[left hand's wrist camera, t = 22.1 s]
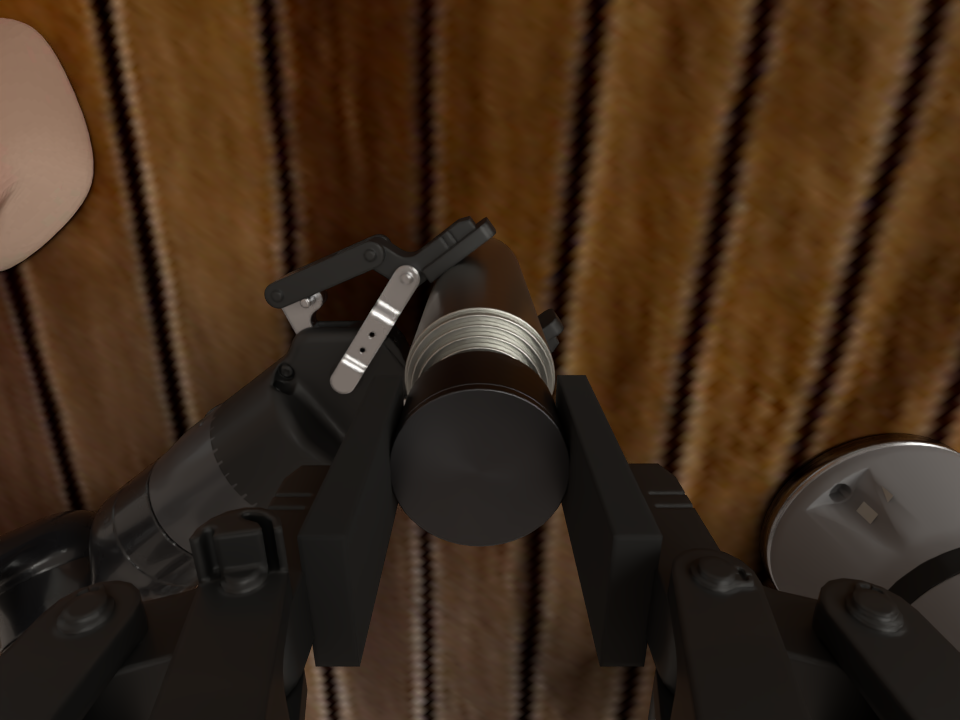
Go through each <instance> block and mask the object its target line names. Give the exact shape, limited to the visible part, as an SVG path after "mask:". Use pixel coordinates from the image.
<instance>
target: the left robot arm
mask: <svg viewBox="0 0 960 720" xmlns="http://www.w3.org/2000/svg"><path fill="white" fill-rule="evenodd" d="M403 408H404V396H403V377H402V375H374V377H373V379H372V381H371V383H370V385H369V387H368V389H367V391H366V393H365V395H364V397H363V400H362V402H361V404H360V406H359V408H358V410H357V412H356V414H355V416H354V418H353V420H352V422H351V425H350V427H349V429H348V431H347V433H346V435H345V437H344V439H343V441H342V443H341V445H340V448H339V450H338V452H337V454H336V456H335V458H334V460H333V462H332V464H331V465H302V466H300V467H299V468H298V469H296V470H295V471H294V472H292V473H291V474H290V475H288V476H287V477H286V478H285V479H284V480H283V482H282V483H281V485H280V487H279V488H278V490H277V492H276V493H275V497H273V498H272V500H271V502H270V503H269V505H268V509H264V508H261V507H244V508H240V509H235V510H231V511H227V512H224V513H222V514H220V515H217V516H215V517H213V518H211V519H209V520H208V521H206V522H205V523H204V524H202V525H201V526H200V527H198V528H197V529H196V530H195V532H194V533H193V534H192V536H191V537H190V539H189V542H190V547H191V551H192V555H193V560H194V564H195V568H196V573H197V577H198V581H199V585H198V587H197V588H195V589H192V590H188V591H185V592H182V593H178V594H174V595H169V596H165V597H161V598H156V599H152V600H148V601H144V602H142V598H141V594H140V591H139V590H138V589H137V588H136V587H135V586H134V585H133V584H132V583H129V582H124V581H119V580H116V581H107V582H99V583H96V584H93V585H90V586H87V587H84V588H81V589H78V590H76V591H74V592H73V593H71V594H69V595H67V596H65V597H63V598H61V599H59V600H58V601H57V602H56V603H54V604H53V605H52V606H51V607H49V608H48V609H47V610H46V611H44V612H43V613H42V614H41V615H40V616H39V617H38V618H37V619H36V620H35V621H34V622H33V623H32V624H31V625H30V626H29V627H28V628H27V629H26V630H25V631H24V632H23V633H22V634H21V635H20V636H19V637H18V638H17V639H16V640H15V641H14V642H13V643H12V644H11V645H10V646H9V647H8V648H7V649H6V650H5V651H4V652H3V653H2V654H1V655H0V720H305V709H306V698H307V685H306V678H305V671H304V667H305V664H306V661H307V658H308V655H309V652H310V650H311V647H312V644H313V651H314V658H315V665H316V666H360V663H361V659H362V654H363V650H364V646H365V642H366V637H367V633H368V629H369V625H370V620H371V616H372V612H373V607H374V603H375V599H376V595H377V590H378V586H379V582H380V578H381V573H382V569H383V565H384V561H385V556H386V552H387V548H388V543H389V539H390V535H391V531H392V526H393V522H394V518H395V514H396V509H397V505H398V501H397V499H396V497H395V495H394V493H393V490H392V486H391V474H390V451H391V448H392V444H393V441H394V438H395V434H396V431H397V428H398V424H399V421H400V418H401V415H402V411H403ZM556 409H557V412H558V416H559V419H560V422H561V426H562V429H563V432H564V436H565V439H566V442H567V445H568V449H569V454H570V469H569V483H568V488H567V491H566V494H565V496H564V498H563V500H562V506H563V511H564V515H565V519H566V524H567V528H568V532H569V536H570V541H571V545H572V549H573V553H574V558H575V562H576V566H577V570H578V575H579V579H580V583H581V588H582V592H583V596H584V600H585V605H586V609H587V613H588V617H589V622H590V626H591V630H592V634H593V639H594V643H595V647H596V652H597V656H598V660H599V664H600V666H644V663H645V656H646V649H647V642H648V645H649V648H650V651H651V654H652V657H653V660H654V662H655V665H656V671H655V678H654V684H653V691H652V697H651V703H650V710H649V717H648V720H655V719H656V720H960V453H958V452H957V451H955V450H954V449H952V448H950V447H949V446H947V445H945V444H943V443H941V442H939V441H936V440H933V439H930V438H927V437H923V436H917V435H911V434H884V435H876V436H871V437H866V438H862V439H858V440H855V441H851V442H849V443H846V444H843V445H841V446H838V447H836V448H834V449H832V450H830V451H828V452H826V453H824V454H822V455H821V456H819V457H817V458H816V459H814V460H813V461H811V462H810V463H808V464H807V465H806V466H804V467H803V468H802V469H801V470H799V471H798V472H797V473H796V474H795V475H794V476H793V477H792V478H791V479H790V480H789V481H788V482H787V483H786V484H785V485H784V486H783V488H782V489H781V490H780V491H779V493H778V494H777V496H776V497H775V499H774V500H773V502H772V503H771V505H770V507H769V509H768V511H767V514H766V516H765V518H764V521H763V525H762V529H761V534H760V554H761V559H762V563H763V566H764V568H765V570H766V572H767V574H768V576H769V578H770V579H771V581H772V582H773V583H774V585H775V586H776V588H777V589H778V590H775V589H772V588H769V587H766V586H763V585H762V584H761V582H760V580H759V579H758V577H757V575H756V574H755V572H754V571H753V570H752V569H751V568H750V567H748V566H747V565H746V564H745V563H744V562H742V561H741V560H739V559H737V558H735V557H733V556H731V555H729V554H727V553H725V552H721V551H720V549H719V548H718V546H717V545H716V543H715V541H714V540H713V538H712V536H711V535H710V533H709V531H708V530H707V528H706V526H705V525H704V523H703V521H702V520H701V518H700V517H699V515H698V513H697V512H696V510H695V508H693V507H692V503H691V502H690V500H689V498H688V497H687V495H685V492H684V490H683V489H682V487H681V485H680V484H679V482H678V480H677V479H676V477H675V476H674V475H672V474H671V473H670V472H668V471H667V470H666V469H664V468H663V467H662V466H660V465H659V464H628V463H627V461H626V459H625V457H624V455H623V452H622V450H621V448H620V446H619V444H618V442H617V440H616V438H615V436H614V434H613V432H612V429H611V427H610V425H609V423H608V421H607V419H606V417H605V415H604V413H603V411H602V409H601V406H600V404H599V402H598V400H597V398H596V396H595V394H594V392H593V390H592V388H591V386H590V384H589V381H588V379H587V377H586V375H557V390H556Z"/></svg>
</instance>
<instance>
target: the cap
mask: <svg viewBox="0 0 960 720" xmlns="http://www.w3.org/2000/svg"><path fill="white" fill-rule="evenodd" d="M569 469H570V454H569V449H568V445H567V442H566V439H565V436H564V432H563V429H562V426H561V422H560V419H559V416H558V412H557V409H556V406H555V403H554V400H553V397H552V394H551V392H550V390H549V389H548V387H547V385H546V384H545V382H544V381H543V380H542V378H541V377H540V376H539V375H538V374H537V373H536V372H535V371H534V370H532V369H531V368H530V367H529V366H527V365H526V364H524V363H522V362H521V361H519V360H517V359H515V358H512V357H510V356H507V355H504V354H501V353H496V352H490V351H470V352H464V353H459V354H455V355H452V356H449V357H447V358H445V359H443V360H441V361H439V362H437V363H435V364H434V365H432V366H431V367H429V368H428V369H427V370H426V371H425V372H424V373H423V374H422V375H421V376H420V377H419V378H418V379H417V380H416V382H415V383H414V385H413V386H412V388H411V389H410V391H409V394H408V396H407V398H406V401H405V405H404V408H403V411H402V415H401V418H400V421H399V424H398V428H397V431H396V434H395V438H394V441H393V444H392V448H391V451H390V474H391V486H392V490H393V493H394V495H395V497H396V499H397V501H398V503H399V504H400V506H401V507H402V509H403V510H404V512H405V513H406V514H407V515H408V516H409V517H410V518H411V520H413V521H414V522H415V523H416V524H417V525H418V526H419V527H421V528H422V529H424V530H425V531H427V532H428V533H430V534H432V535H434V536H436V537H438V538H441V539H443V540H446V541H449V542H453V543H456V544H461V545H468V546H492V545H498V544H504V543H507V542H510V541H514V540H516V539H519V538H521V537H523V536H526V535H527V534H529V533H531V532H533V531H534V530H536V529H537V528H538V527H540V526H541V525H543V524H544V523H545V522H546V521H547V520H548V519H549V518H550V517H551V516H552V515H553V513H554V512H555V511H556V510H557V508H558V507H559V505H560V503H561V502H562V500H563V498H564V496H565V494H566V491H567V488H568V483H569Z"/></svg>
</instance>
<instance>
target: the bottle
mask: <svg viewBox="0 0 960 720" xmlns="http://www.w3.org/2000/svg"><path fill="white" fill-rule="evenodd" d="M470 351H490V352H496V353H501V354H504V355H507V356H510V357H512V358H515V359H517V360H519V361H521V362H522V363H524V364H526V365H527V366H529V367H530V368H531V369H532V370H534V371H535V372H536V373H537V374H538V375H539V376H540V377H541V378H542V380H543V381H544V382H545V384H546V385H547V387H548V389H549V390H550V392H551V394H553V391H554V384H555V368H554V362H553V359H552V356H551V352H550V350H549V347H548V344H547V341H546V339H545V336H544V333H543V330H542V327H541V325H540V322H539V319H538V316H537V313H536V311H535V308H534V305H533V302H532V300H531V297H530V294H529V291H528V288H527V286H526V283H525V280H524V277H523V274H522V272H521V269H520V266H519V263H518V261H517V259H516V256H515V255H514V253H513V252H512V251H511V250H510V248H509V247H508V246H506V245H505V244H504V243H502V242H501V241H499V240H497V239H495V238H492V237H491V238H490V239H489V240H488V241H486V242H485V243H484V244H482V245H481V246H480V247H478V248H477V249H476V250H474V251H473V252H472V253H470V254H469V255H468V256H466V257H465V258H464V259H462V260H461V261H460V262H458V263H457V264H456V265H454V266H453V267H452V268H450V269H449V270H447V271H446V272H445V273H444V274H443V275H441V276H440V277H439V278H437V279H436V280H435V282H434V284H433V287H432V290H431V293H430V296H429V298H428V301H427V304H426V307H425V309H424V312H423V315H422V318H421V321H420V323H419V326H418V329H417V332H416V335H415V337H414V340H413V343H412V346H411V348H410V351H409V354H408V357H407V361H406V366H405V388H406V392H407V396H408V394H409V391H410V389H411V388H412V386H413V385H414V383H415V382H416V380H417V379H418V378H419V377H420V376H421V375H422V374H423V373H424V372H425V371H426V370H427V369H428V368H429V367H431V366H432V365H434V364H435V363H437V362H439V361H441V360H443V359H445V358H447V357H449V356H452V355H455V354H459V353H464V352H470Z"/></svg>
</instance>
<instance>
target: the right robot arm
mask: <svg viewBox="0 0 960 720" xmlns="http://www.w3.org/2000/svg"><path fill="white" fill-rule="evenodd" d="M495 233H496V230H495V228H494V227H493V225H492V224H491V222H490V221H489V220H488V218H487V217H485V218H484V219H482V220H481V221H480V222H478V223H477V224H475V222H474V221H473V219H472V218H471V217H470V216H468V217H465V218H461V219H458V220H457V221H456V222H455V223H453V224H452V225H451V226H450V227H448V228H447V229H446V230H444V231H443V232H442V233H440V234H439V235H438V236H436V237H435V238H434V239H433V240H431V241H430V242H429V243H427V244H426V245H425V246H424V247H422V248H421V249H420V250H418V251H415V252H406V251H403V250H401V249H400V248H398V247H397V246H395V245H394V244H392V243H391V241H390V240H389V238H388V237H386V236H385V235H381V234H376V235H374V236H371V237H369V238H367V239H365V240H362V241H360V242H358V243H355V244H353V245H351V246H349V247H346V248H344V249H342V250H340V251H337V252H335V253H333V254H331V255H328V256H326V257H324V258H322V259H319V260H317V261H315V262H313V263H310V264H308V265H306V266H304V267H301V268H299V269H297V270H294V271H292V272H290V273H288V274H286V275H285V276H283V277H281V278H279V279H278V280H276V281H275V282H273V283H272V284H270V285H269V286H267V288H266V289H265V299H266V301H267V302H268V304H269V305H271V306H272V307H274V308H282V310H283V312H284V314H285V315H286V317H287V319H288V321H289V322H290V324H291V326H292V328H293V329H294V331H295V333H296V336H295V337H294V339H293V341H292V344H291V347H290V349H289V351H288V353H287V354H286V355H285V356H283V357H282V358H281V359H279V360H278V361H277V362H275V363H274V364H273V365H272V366H270V367H269V368H268V369H266V370H265V371H264V372H263V373H261V374H260V375H259V376H257V377H256V378H255V379H254V380H252V381H251V382H250V383H248V384H247V385H246V386H245V387H243V388H242V389H241V390H239V391H238V392H237V393H235V394H234V395H233V396H231V397H230V398H229V399H228V400H226V401H225V402H224V403H222V404H220V405H218V406H216V407H214V408H213V409H211V410H210V411H209V412H208V413H207V414H206V415H205V417H204V418H203V419H202V420H200V421H199V422H198V423H197V424H195V425H194V426H193V427H191V428H190V429H189V430H188V431H187V432H186V433H185V434H184V435H183V436H182V437H181V438H180V439H179V440H178V441H177V442H176V443H175V444H174V445H173V446H172V447H171V448H170V449H169V450H168V451H167V452H166V453H165V454H164V455H163V456H162V457H160V458H159V459H158V460H156V461H155V462H154V463H152V464H151V465H150V466H149V467H147V468H146V469H145V470H143V471H142V472H141V473H139V474H138V475H137V476H136V477H134V478H133V479H132V480H131V481H129V482H128V483H126V484H125V485H124V486H123V487H121V488H120V489H119V490H118V491H116V492H115V493H114V494H113V495H112V496H110V497H109V498H108V499H107V500H106V501H105V503H104V504H103V505H102V507H101V508H100V509H99V511H98V512H97V513H96V512H93V511H85V510H72V511H65V512H60V513H57V514H54V515H51V516H48V517H45V518H42V519H39V520H37V521H35V522H32V523H30V524H27V525H25V526H23V527H20V528H18V529H16V530H13V531H11V532H9V533H6V534H4V535H2V536H0V653H1V654H2V653H3V652H4V651H5V650H6V649H7V648H8V647H9V646H10V645H11V644H12V643H13V642H14V641H15V640H16V639H17V638H18V637H19V636H20V635H21V634H22V633H23V632H24V631H25V630H26V629H27V628H28V627H29V626H30V625H31V624H32V623H33V622H34V621H35V620H36V619H37V618H38V617H39V616H40V615H41V614H42V613H43V612H44V611H46V610H47V609H48V608H49V607H51V606H52V605H53V604H54V603H56V602H57V601H58V600H59V599H61V598H63V597H65V596H67V595H69V594H71V593H73V592H74V591H76V590H78V589H81V588H84V587H87V586H90V585H93V584H96V583H99V582H107V581H116V580H119V581H124V582H129V583H132V584H133V585H134V586H135V587H136V588H137V589H138V590H139V591H140V594H141V598H142V602H144V601H148V600H152V599H156V598H161V597H165V596H169V595H174V594H178V593H182V592H185V591H188V590H192V589H194V588H195V587H196V586H197V585H199V581H198V577H197V573H196V568H195V564H194V560H193V555H192V551H191V547H190V542H189V539H190V537H191V536H192V534H193V533H194V532H195V530H196V529H197V528H198V527H200V526H201V525H202V524H204V523H205V522H206V521H208V520H209V519H211V518H213V517H215V516H217V515H220V514H222V513H224V512H227V511H231V510H235V509H240V508H244V507H261V508H264V509H268V505H269V503H270V502H271V500H272V498H273V497H275V493H276V492H277V490H278V488H279V487H280V485H281V483H282V482H283V480H284V479H285V478H286V477H287V476H288V475H290V474H291V473H292V472H294V471H295V470H296V469H298V468H299V467H300V466H302V465H331V464H332V462H333V460H334V458H335V456H336V454H337V452H338V450H339V448H340V445H341V443H342V441H343V439H344V437H345V435H346V433H347V431H348V429H349V427H350V425H351V422H352V420H353V418H354V416H355V414H356V412H357V410H358V408H359V406H360V404H361V402H362V400H363V397H364V395H365V393H366V391H367V389H368V387H369V385H370V383H371V381H372V379H373V377H374V375H402V377H403V396H404V405H405V401H406V398H407V392H406V388H405V366H406V361H407V357H408V354H409V351H410V347H409V345H408V343H407V341H406V339H405V336H404V335H403V334H402V333H401V332H400V330H399V329H398V328H397V327H396V326H395V325H394V324H395V322H396V320H397V319H398V317H399V315H400V314H401V312H402V310H403V309H404V307H405V306H406V304H407V302H408V301H409V299H410V298H411V296H412V295H413V293H414V291H415V290H416V288H417V287H418V286H420V285H421V284H422V283H424V282H425V281H426V280H428V281H429V282H430V283H432V282H433V281H435V280H436V279H437V278H439V277H440V276H441V275H443V274H444V273H445V272H446V271H447V270H449V269H450V268H452V267H453V266H454V265H456V264H457V263H458V262H460V261H461V260H462V259H464V258H465V257H466V256H468V255H469V254H470V253H472V252H473V251H474V250H476V249H477V248H478V247H480V246H481V245H482V244H484V243H485V242H486V241H488V240H489V239H490V238H491V237H493V236H494V235H495ZM372 269H373V270H375V271H376V272H378V273H380V274H381V275H383V276H384V277H386V278H388V279H389V280H390V281H389V282H388V284H387V286H386V287H385V289H384V291H383V292H382V294H381V296H380V297H379V299H378V300H377V302H376V304H375V305H374V307H373V308H372V310H371V312H370V313H369V315H368V317H367V318H366V320H365V321H317V319H316V312H317V310H318V309H319V308H320V307H321V306H322V305H323V304H324V303H325V302H326V300H327V291H326V289H328V288H331V287H333V286H335V285H337V284H340V283H342V282H344V281H347V280H349V279H351V278H354V277H356V276H358V275H361V274H363V273H365V272H367V271H370V270H372ZM538 319H539V322H540V325H541V327H542V330H543V333H544V336H545V339H546V341H547V344H548V347H549V350H550V352H551V353H552V352H553V351H554V349H555V348H556V347H557V345H558V344H559V341H558V339H557V335H559V334H560V333H561V332H562V331H563V329H564V327H563V325H562V323H561V321H560V319H559V318H558V316H557V315H556V314H555V312H554V311H553V309H548V310H546V311H545V312H543V313H542V314H540V315H539V316H538ZM393 325H394V326H393Z"/></svg>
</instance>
